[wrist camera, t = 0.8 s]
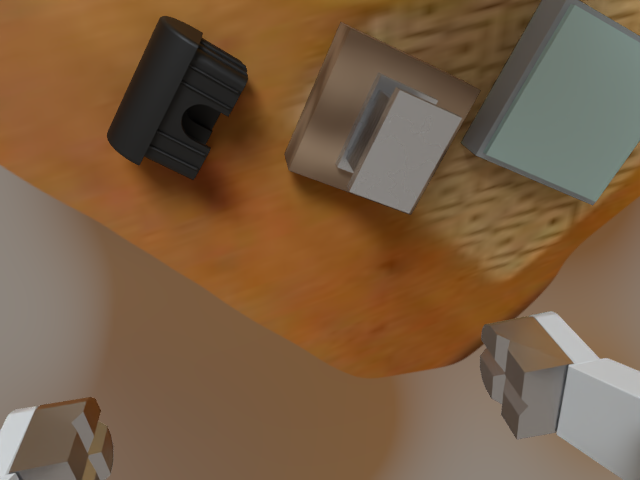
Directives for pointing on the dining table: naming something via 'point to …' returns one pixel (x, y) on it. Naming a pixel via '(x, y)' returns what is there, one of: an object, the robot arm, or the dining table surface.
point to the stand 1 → (361, 101)
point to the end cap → (176, 99)
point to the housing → (395, 143)
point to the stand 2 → (564, 102)
